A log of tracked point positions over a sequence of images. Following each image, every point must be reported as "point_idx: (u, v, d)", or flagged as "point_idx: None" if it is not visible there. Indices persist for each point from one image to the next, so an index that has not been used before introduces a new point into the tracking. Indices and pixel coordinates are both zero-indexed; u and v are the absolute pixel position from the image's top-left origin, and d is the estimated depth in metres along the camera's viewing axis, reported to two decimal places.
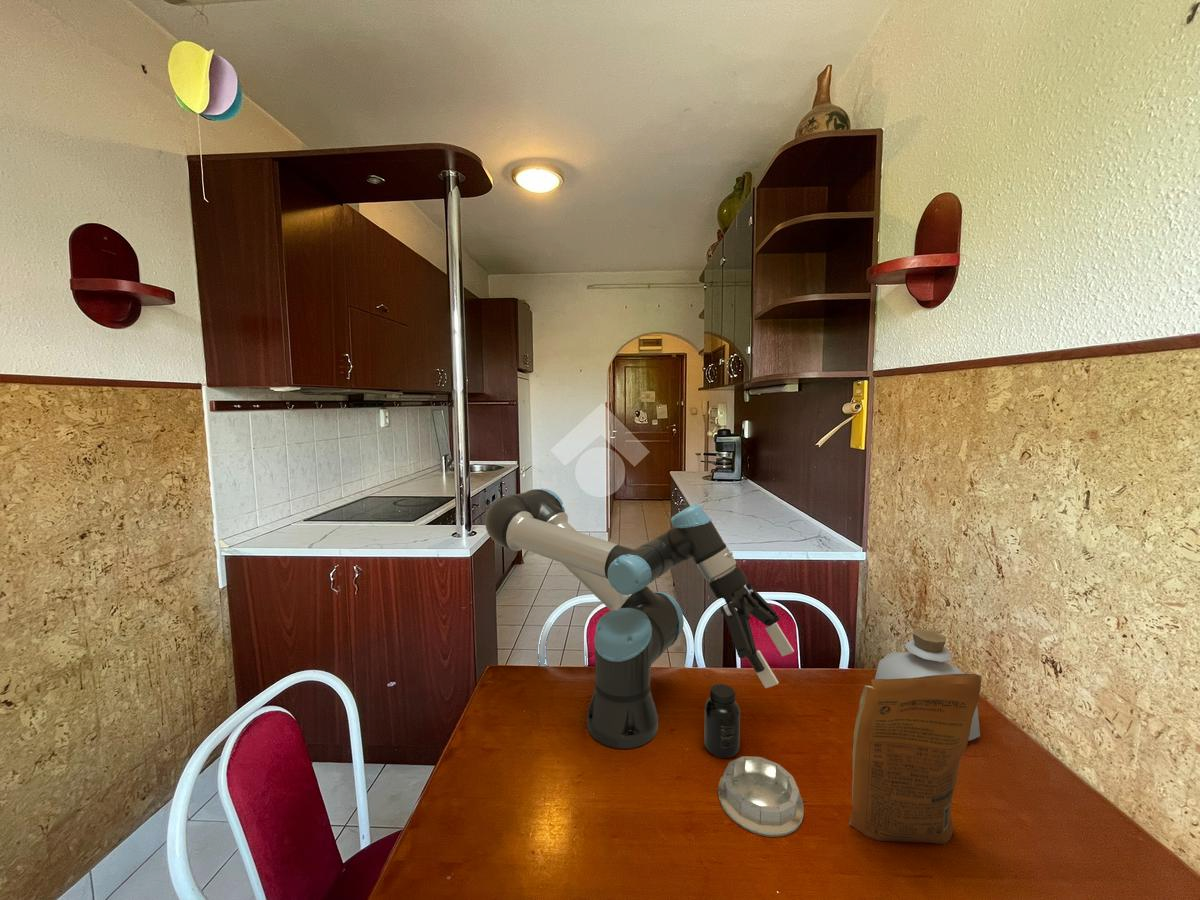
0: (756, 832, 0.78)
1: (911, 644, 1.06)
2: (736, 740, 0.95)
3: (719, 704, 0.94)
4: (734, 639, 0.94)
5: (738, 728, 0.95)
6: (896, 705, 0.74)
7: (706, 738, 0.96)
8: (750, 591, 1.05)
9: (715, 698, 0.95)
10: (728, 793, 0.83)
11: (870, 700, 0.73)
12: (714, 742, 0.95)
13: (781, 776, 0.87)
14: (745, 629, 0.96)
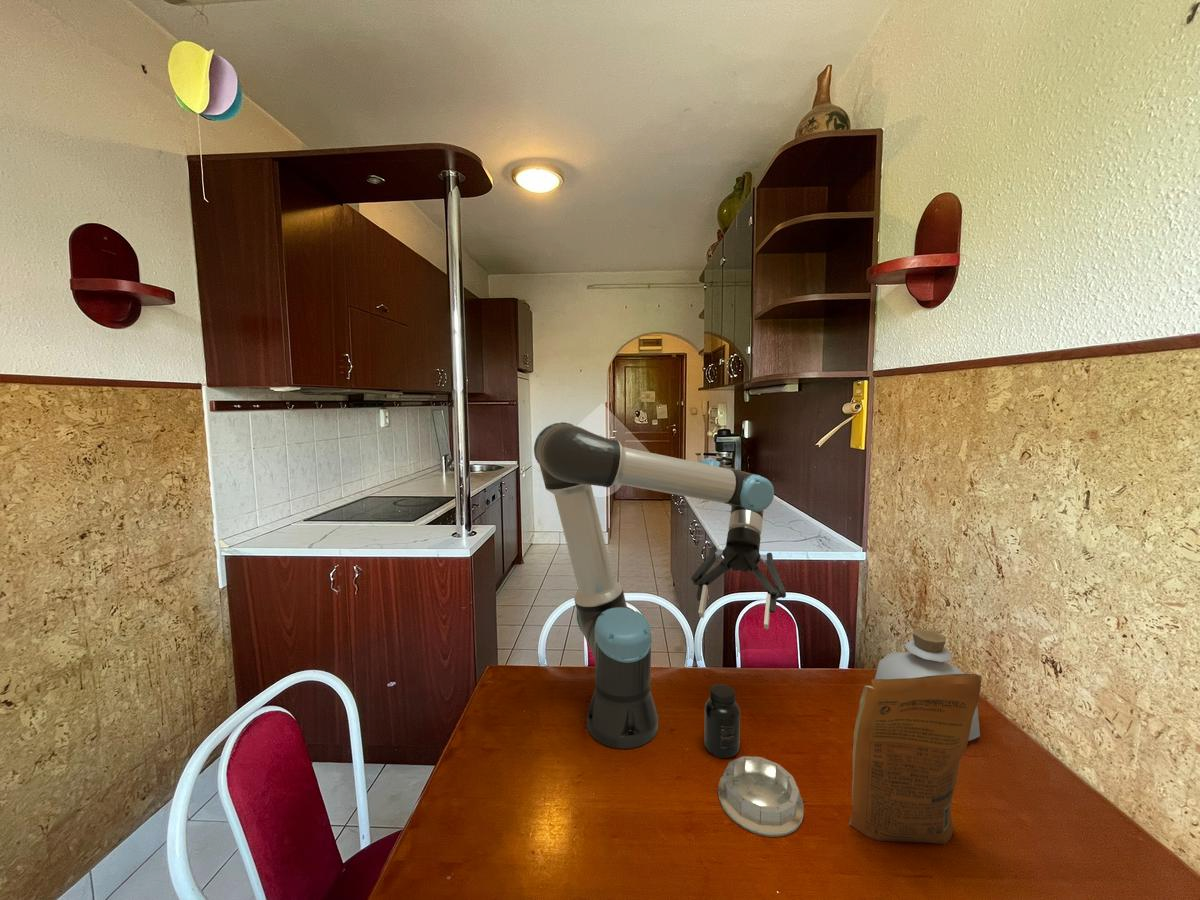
0: (756, 832, 0.78)
1: (911, 644, 1.06)
2: (736, 740, 0.95)
3: (719, 704, 0.94)
4: (780, 579, 1.06)
5: (738, 728, 0.95)
6: (896, 705, 0.74)
7: (706, 738, 0.96)
8: None
9: (715, 698, 0.95)
10: (728, 793, 0.83)
11: (870, 701, 0.73)
12: (714, 742, 0.95)
13: (781, 776, 0.87)
14: None
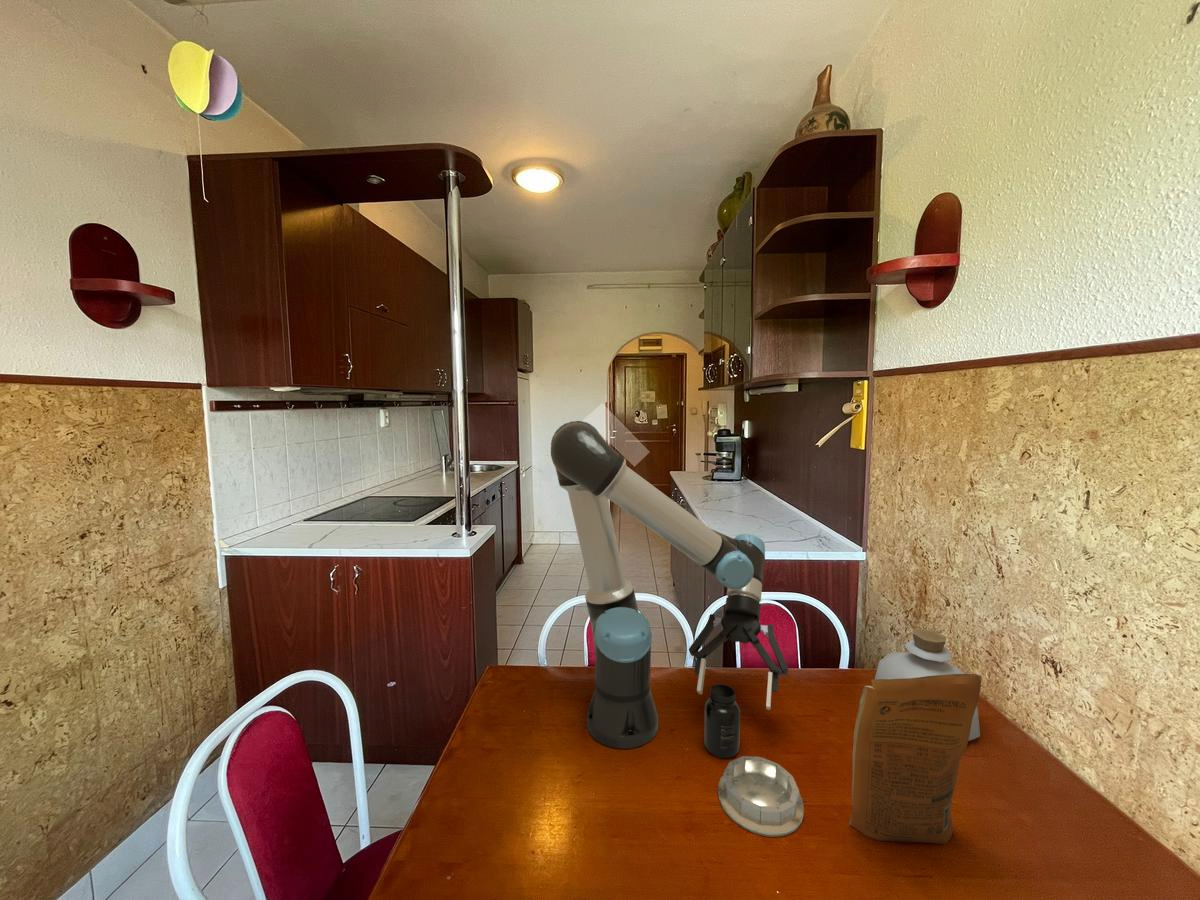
0: (756, 832, 0.78)
1: (911, 644, 1.06)
2: (736, 740, 0.95)
3: (719, 704, 0.94)
4: None
5: (738, 728, 0.95)
6: (896, 705, 0.74)
7: (706, 738, 0.96)
8: None
9: (715, 698, 0.95)
10: (728, 793, 0.83)
11: (870, 701, 0.73)
12: (714, 742, 0.95)
13: (781, 776, 0.87)
14: None
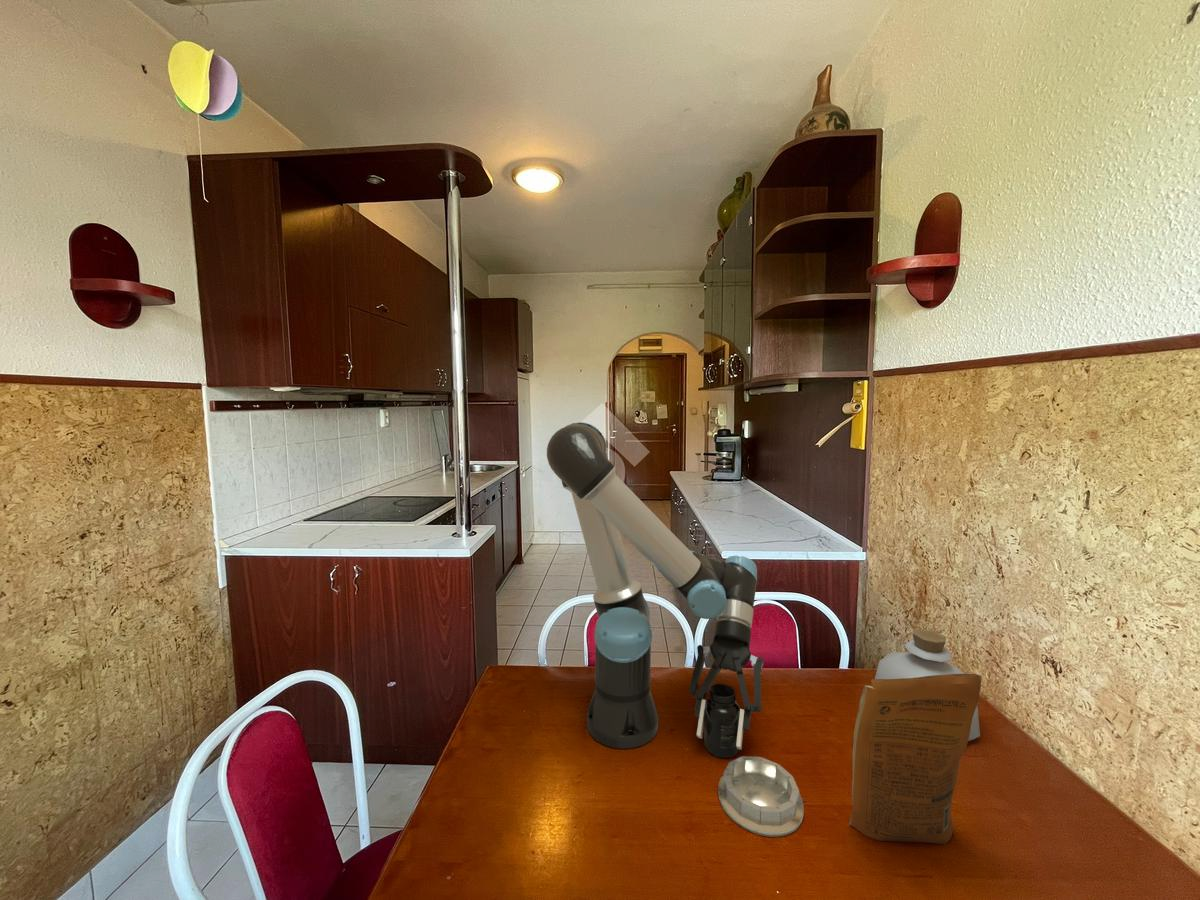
0: (756, 832, 0.78)
1: (911, 644, 1.06)
2: (736, 740, 0.95)
3: (719, 704, 0.94)
4: (760, 691, 0.97)
5: None
6: (896, 705, 0.74)
7: (706, 738, 0.96)
8: None
9: (715, 698, 0.95)
10: (728, 793, 0.83)
11: (870, 701, 0.73)
12: (714, 742, 0.95)
13: (781, 776, 0.87)
14: None
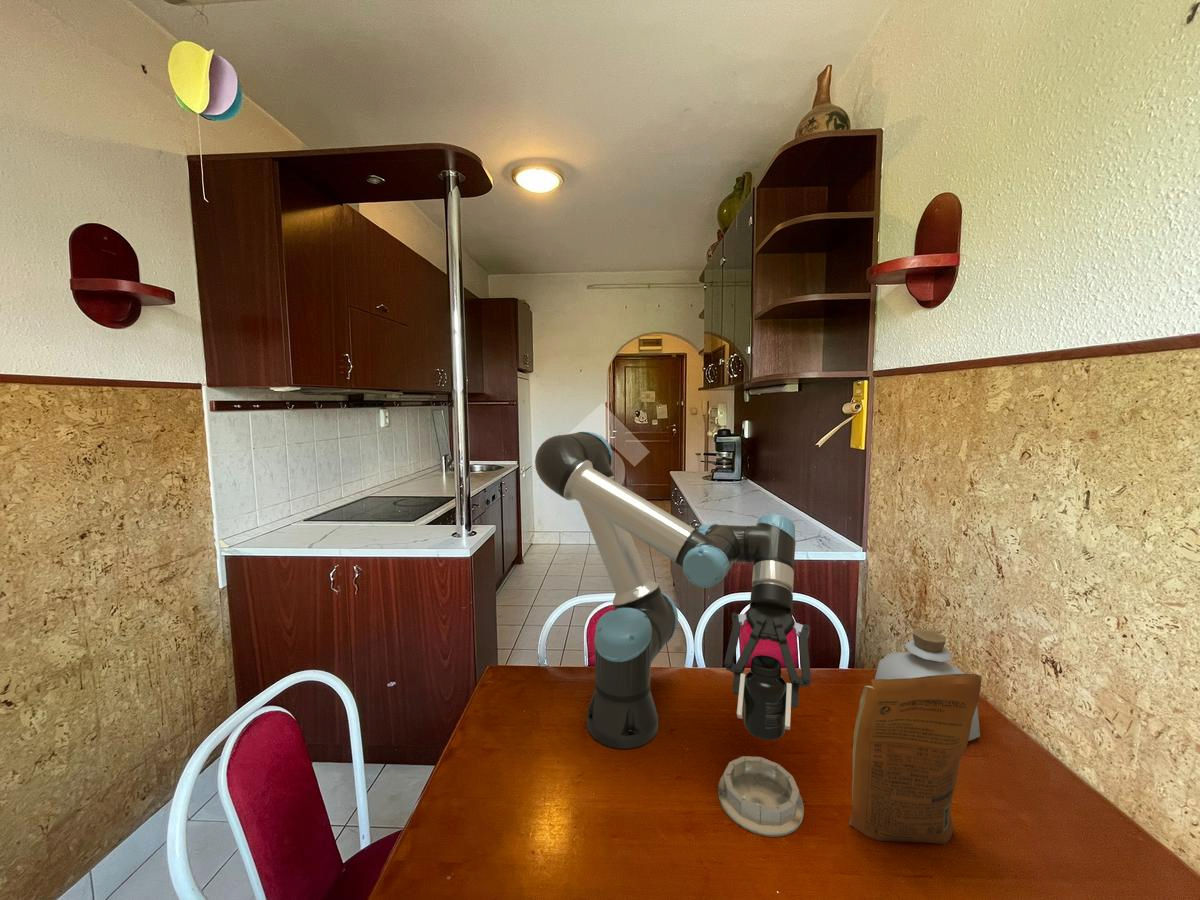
0: (756, 832, 0.78)
1: (911, 644, 1.06)
2: (783, 719, 0.81)
3: (763, 677, 0.81)
4: None
5: (785, 705, 0.81)
6: (896, 705, 0.74)
7: (747, 718, 0.83)
8: None
9: (758, 671, 0.81)
10: (728, 793, 0.83)
11: (870, 701, 0.73)
12: (757, 722, 0.81)
13: (781, 776, 0.87)
14: None
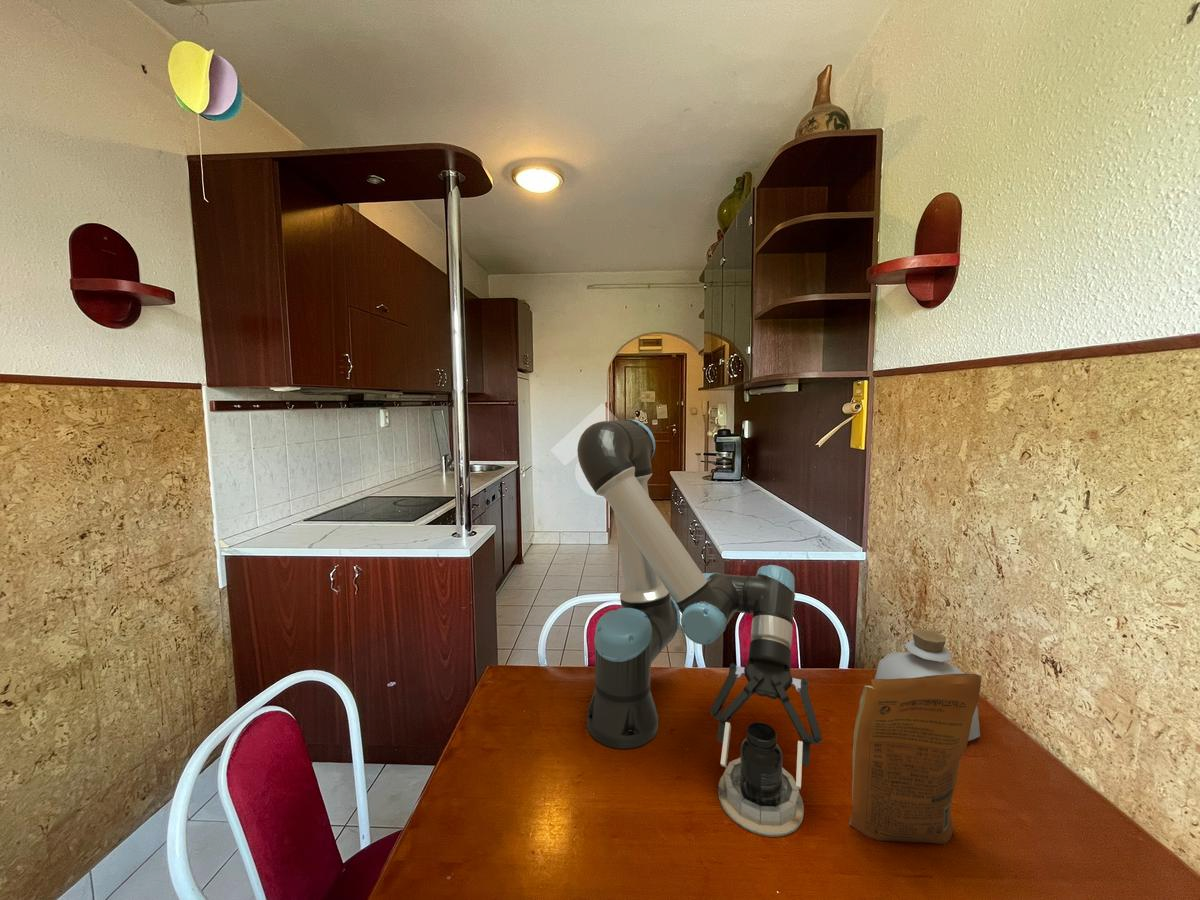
0: (756, 832, 0.78)
1: (911, 644, 1.06)
2: (779, 789, 0.82)
3: (758, 749, 0.81)
4: (816, 719, 0.84)
5: (781, 775, 0.82)
6: (896, 705, 0.74)
7: (743, 786, 0.83)
8: None
9: (754, 741, 0.82)
10: (728, 793, 0.83)
11: (869, 700, 0.73)
12: (752, 792, 0.82)
13: None
14: None
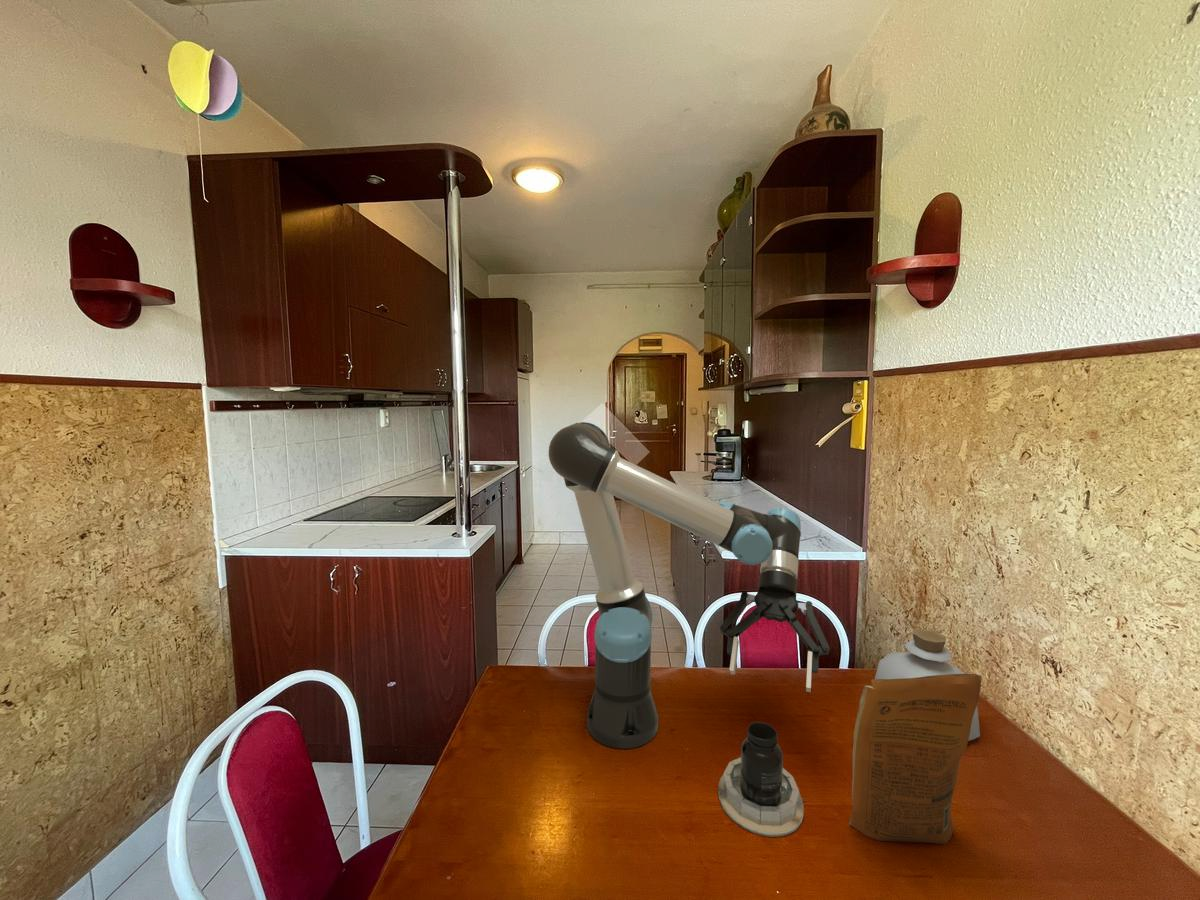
0: (756, 832, 0.78)
1: (911, 644, 1.06)
2: (779, 789, 0.82)
3: (759, 747, 0.81)
4: None
5: (781, 775, 0.82)
6: (896, 705, 0.74)
7: (743, 785, 0.84)
8: None
9: (754, 740, 0.82)
10: (728, 793, 0.83)
11: (870, 701, 0.73)
12: (753, 791, 0.82)
13: None
14: None
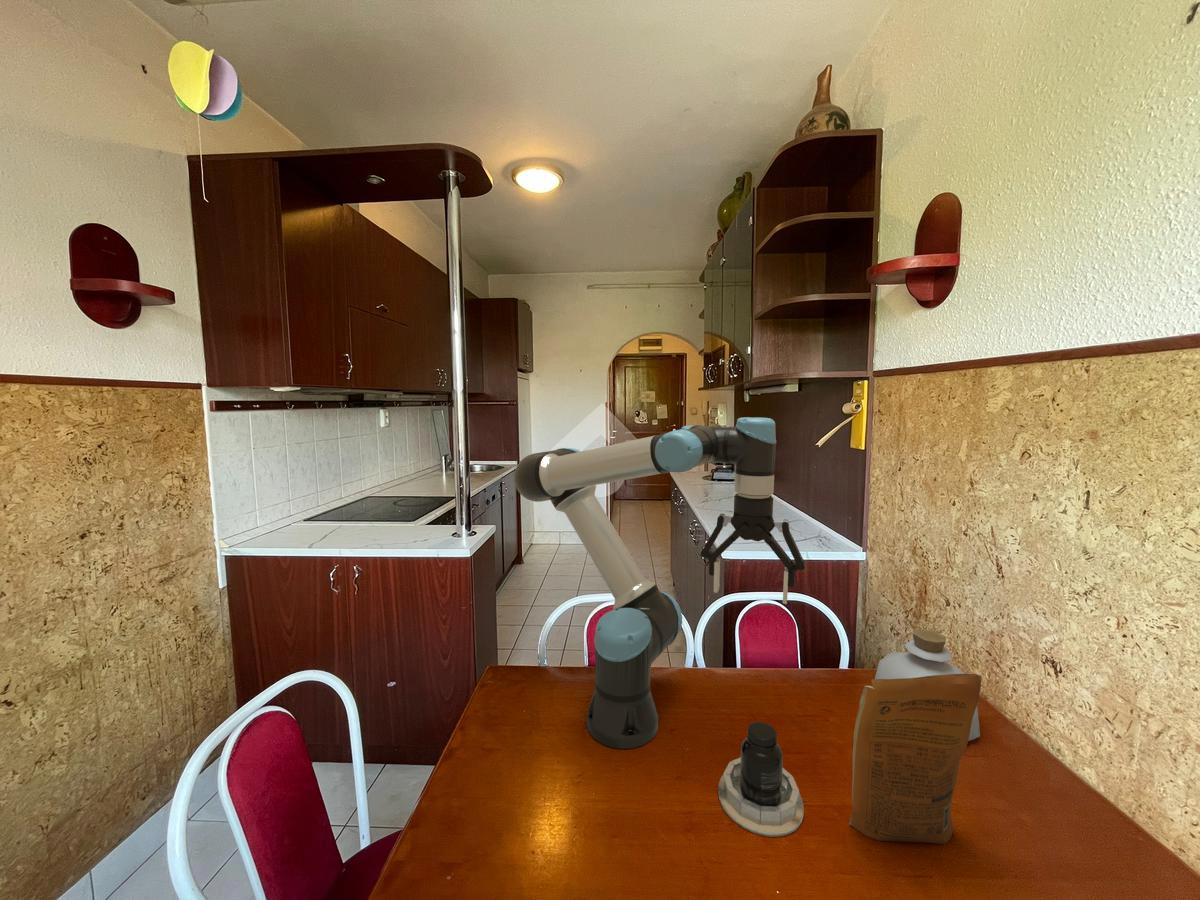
0: (756, 832, 0.78)
1: (911, 644, 1.06)
2: (779, 789, 0.82)
3: (758, 747, 0.81)
4: (798, 552, 0.95)
5: (781, 775, 0.82)
6: (896, 705, 0.74)
7: (743, 785, 0.84)
8: None
9: (754, 740, 0.82)
10: (728, 793, 0.83)
11: (870, 701, 0.73)
12: (752, 791, 0.82)
13: None
14: (780, 547, 0.98)
